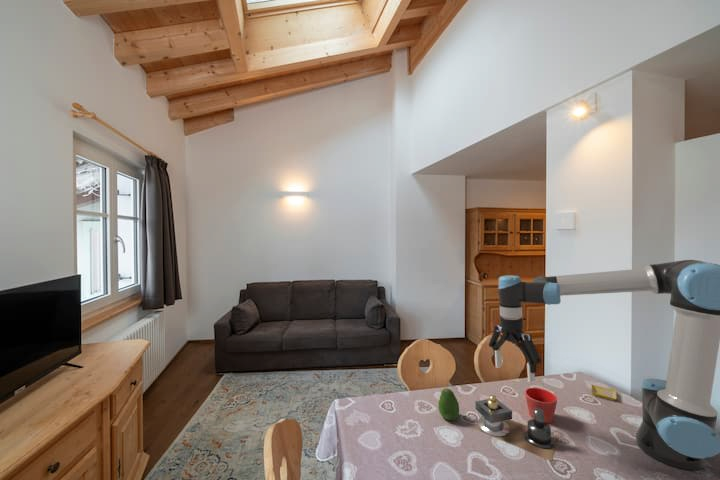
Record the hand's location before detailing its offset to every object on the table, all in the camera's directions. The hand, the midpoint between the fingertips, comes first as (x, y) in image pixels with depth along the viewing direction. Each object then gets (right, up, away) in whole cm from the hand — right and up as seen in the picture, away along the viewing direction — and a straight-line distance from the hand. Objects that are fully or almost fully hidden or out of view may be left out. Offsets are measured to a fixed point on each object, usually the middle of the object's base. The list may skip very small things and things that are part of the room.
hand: (514, 373), depth 108 cm
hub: (-7, -21, +1) cm, 22 cm away
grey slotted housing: (-7, -16, +1) cm, 18 cm away
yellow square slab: (+51, -20, +21) cm, 59 cm away
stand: (+6, -21, -6) cm, 22 cm away
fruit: (-22, -22, +8) cm, 32 cm away
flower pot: (+14, -21, +6) cm, 26 cm away
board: (-1, -22, -3) cm, 22 cm away
